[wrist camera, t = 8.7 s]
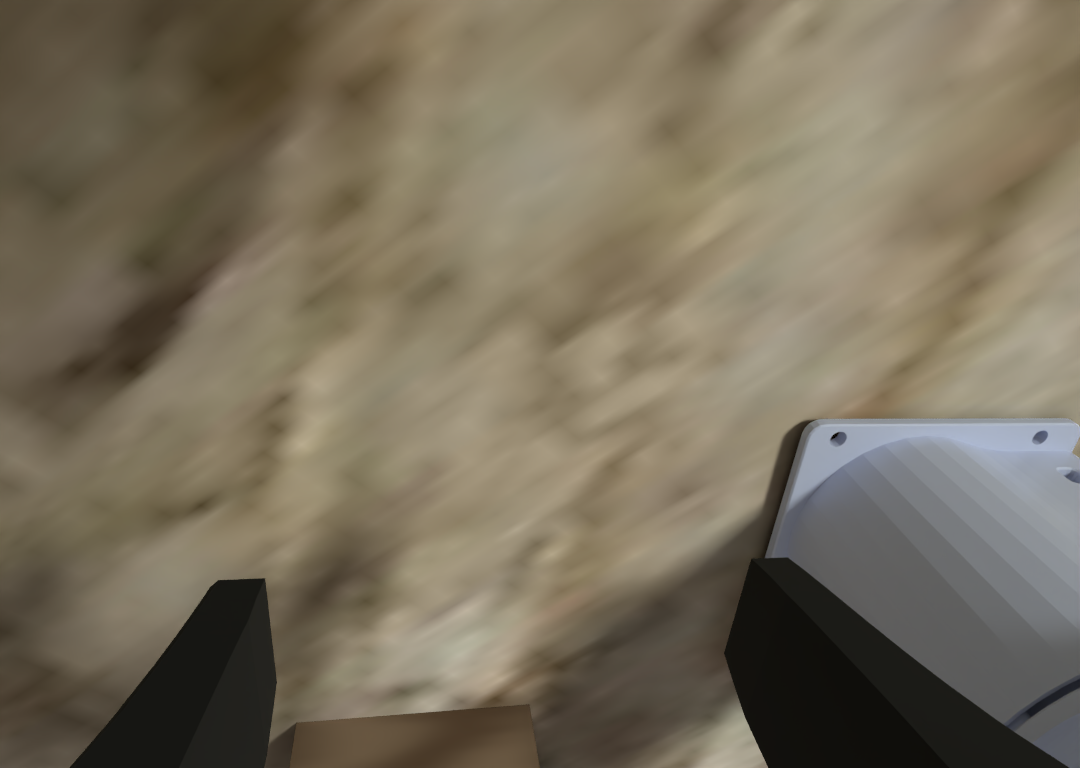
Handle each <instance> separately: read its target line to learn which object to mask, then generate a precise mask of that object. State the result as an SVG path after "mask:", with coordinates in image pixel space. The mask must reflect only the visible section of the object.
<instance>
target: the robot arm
mask: <svg viewBox="0 0 1080 768" xmlns="http://www.w3.org/2000/svg"><path fill="white" fill-rule="evenodd" d="M837 432H839V434H838V436H837V437H835V438H834V439H831V437H832V436H833V435H834V434H835V433H837ZM1079 437H1080V426H1079V425H1078V424H1077V423H1075V422H1073V421H1072V420H1070V419H1067V418H971V419H819V420H815V421H813V422H811V423H809V424H808V425H807V426H806V427H805V428H804V430H803V432H802V435H801V438H800V442H799V445H798V448H797V452H796V455H795V458H794V462H793V465H792V468H791V472H790V475H789V478H788V482H787V485H786V488H785V492H784V495H783V498H782V502H781V505H780V509H779V512H778V515H777V519H776V522H775V525H774V529H773V532H772V535H771V539H770V542H769V545H768V549H767V552H766V555H765V558H758V559H751V562H750V565H749V569H748V572H747V576H746V579H745V583H744V586H743V590H742V593H741V597H740V600H739V603H738V607H737V610H736V614H735V617H734V621H733V624H732V628H731V631H730V635H729V638H728V642H727V645H726V649H725V652H724V654H725V657H726V660H727V664H728V667H729V670H730V673H731V676H732V680H733V683H734V686H735V689H736V692H737V695H738V698H739V701H740V704H741V707H742V709H743V712H744V715H745V718H746V720H747V722H748V725H749V727H750V729H751V731H752V733H753V736H754V738H755V740H756V742H757V744H758V746H759V749H760V751H761V753H762V755H763V757H764V759H765V761H766V764H767V766H768V768H1080V458H1079V457H1077V456H1076V455H1074V454H1073V453H1072V451H1073V449H1074V447H1075V445H1076V443H1077V441H1078V439H1079ZM830 439H831V440H830ZM276 683H277V681H276V672H275V663H274V654H273V645H272V636H271V628H270V619H269V610H268V601H267V592H266V583H265V578H264V579H239V580H218V581H217V582H216V583H215V584H213V585H212V586H211V587H210V588H209V590H208V591H207V593H206V594H205V596H204V597H203V599H202V600H201V602H200V603H199V605H198V606H197V607H196V609H195V610H194V612H193V613H192V615H191V616H190V617H189V619H188V620H187V622H186V623H185V624H184V626H183V627H182V629H181V630H180V631H179V633H178V634H177V635H176V637H175V638H174V640H173V641H172V642H171V644H170V645H169V646H168V648H167V649H166V650H165V652H164V653H163V654H162V656H161V657H160V658H159V660H158V661H157V662H156V664H155V665H154V666H153V667H152V669H151V670H150V671H149V673H148V674H147V675H146V676H145V678H144V679H143V680H142V681H141V683H140V684H139V685H138V686H137V688H136V689H135V690H134V691H133V693H132V694H131V695H130V696H129V698H128V699H127V700H126V702H125V703H124V704H123V705H122V707H121V708H120V709H119V710H118V712H117V713H116V714H115V715H114V717H113V718H112V719H111V720H110V721H109V723H108V724H107V725H106V726H105V727H104V729H103V730H102V731H101V732H100V733H99V734H98V735H97V737H96V738H95V739H94V740H93V741H92V742H91V744H90V745H89V746H88V747H87V748H86V749H85V750H84V752H83V753H82V754H81V755H80V756H79V757H78V758H77V760H76V761H75V762H74V763H73V764H72V765H71V767H70V768H264V765H265V760H266V756H267V749H268V742H269V735H270V728H271V721H272V714H273V706H274V698H275V691H276Z"/></svg>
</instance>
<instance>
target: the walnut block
mask: <svg viewBox="0 0 1080 768" xmlns="http://www.w3.org/2000/svg"><path fill="white" fill-rule="evenodd" d="M289 768H540V766H539V760H538V754H537V748H536V742H535V736H534V730H533V724H532V718H531V712H530V706H529V705H517V706H504V707H491V708H479V709H466V710H453V711H441V712H428V713H415V714H403V715H390V716H377V717H365V718H352V719H339V720H327V721H314V722H301V723H296V728H295V735H294V741H293V748H292V754H291V760H290V767H289Z"/></svg>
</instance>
